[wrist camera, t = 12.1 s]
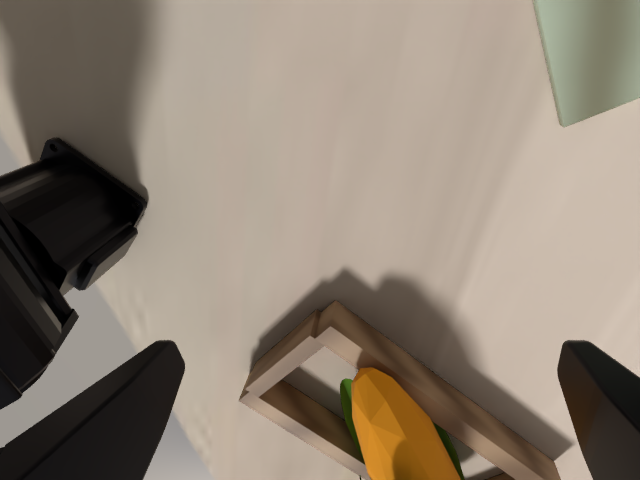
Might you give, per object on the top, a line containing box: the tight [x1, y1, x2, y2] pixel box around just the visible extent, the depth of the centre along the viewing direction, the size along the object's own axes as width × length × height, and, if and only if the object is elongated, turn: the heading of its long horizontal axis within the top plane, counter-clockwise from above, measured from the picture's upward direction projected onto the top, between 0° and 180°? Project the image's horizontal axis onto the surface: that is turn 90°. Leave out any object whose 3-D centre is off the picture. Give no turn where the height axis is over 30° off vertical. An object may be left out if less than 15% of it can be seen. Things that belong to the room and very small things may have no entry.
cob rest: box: [239, 300, 561, 480], centre depth 29 cm, size 24×11×2 cm, turn 52°
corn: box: [340, 367, 465, 480], centre depth 26 cm, size 7×8×20 cm
